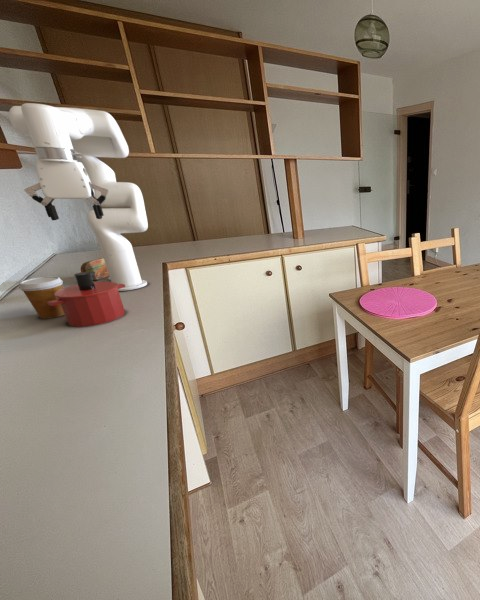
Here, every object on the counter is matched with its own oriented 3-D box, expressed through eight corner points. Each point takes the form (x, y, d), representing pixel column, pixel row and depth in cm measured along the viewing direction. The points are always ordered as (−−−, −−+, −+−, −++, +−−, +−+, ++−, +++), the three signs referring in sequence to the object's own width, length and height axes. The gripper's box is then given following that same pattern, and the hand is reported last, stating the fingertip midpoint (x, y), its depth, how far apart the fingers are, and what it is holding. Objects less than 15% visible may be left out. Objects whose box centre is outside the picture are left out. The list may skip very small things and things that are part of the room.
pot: (46, 325, 96) (34, 297, 92) (116, 304, 113) (108, 279, 109) (74, 333, 92) (62, 303, 88) (142, 310, 108) (135, 284, 105)
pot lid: (44, 296, 95) (36, 277, 92) (100, 282, 108) (95, 265, 105) (74, 303, 90) (66, 283, 88) (129, 288, 103) (124, 270, 101)
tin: (90, 282, 134) (83, 263, 131) (82, 282, 134) (76, 263, 131) (119, 272, 148) (114, 255, 145) (113, 272, 148) (107, 255, 145)
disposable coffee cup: (32, 314, 103) (17, 279, 99) (73, 307, 110) (60, 274, 105) (32, 323, 97) (16, 286, 93) (75, 314, 104) (62, 280, 99)
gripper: (101, 158, 94) (118, 217, 100) (18, 155, 85) (42, 219, 91) (94, 157, 88) (113, 219, 94) (4, 153, 79) (30, 221, 85)
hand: (78, 219), depth 93 cm, fingers open, 9 cm apart
